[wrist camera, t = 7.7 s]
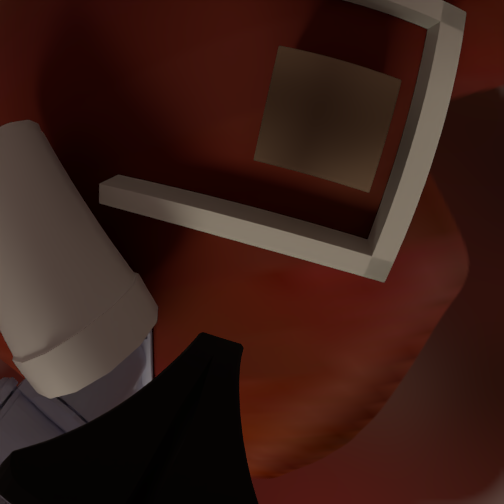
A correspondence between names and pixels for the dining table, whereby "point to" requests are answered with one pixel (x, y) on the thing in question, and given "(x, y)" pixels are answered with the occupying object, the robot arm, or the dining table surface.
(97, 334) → the foam cup
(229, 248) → the dining table surface
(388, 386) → the dining table surface
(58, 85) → the dining table surface
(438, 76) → the bay
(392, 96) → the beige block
